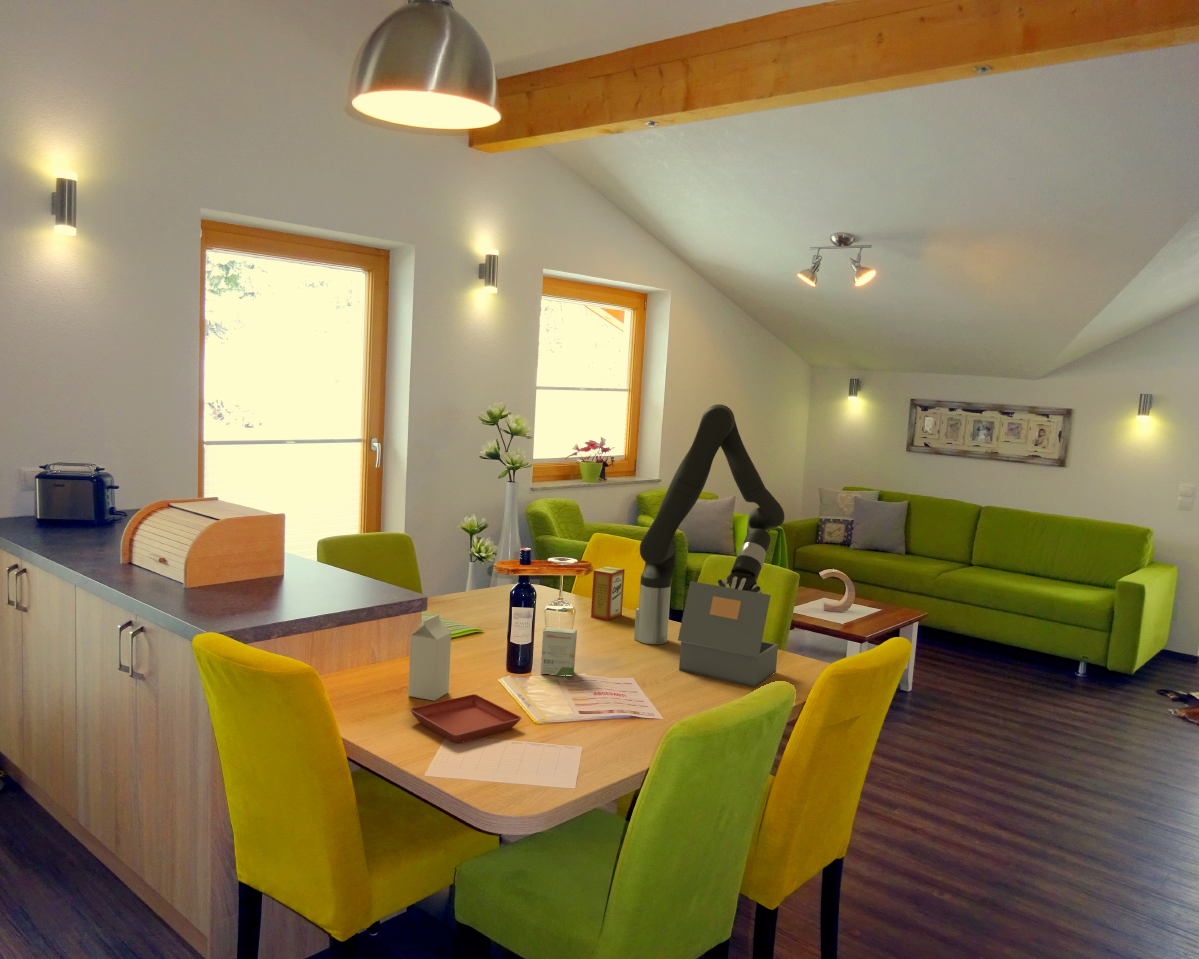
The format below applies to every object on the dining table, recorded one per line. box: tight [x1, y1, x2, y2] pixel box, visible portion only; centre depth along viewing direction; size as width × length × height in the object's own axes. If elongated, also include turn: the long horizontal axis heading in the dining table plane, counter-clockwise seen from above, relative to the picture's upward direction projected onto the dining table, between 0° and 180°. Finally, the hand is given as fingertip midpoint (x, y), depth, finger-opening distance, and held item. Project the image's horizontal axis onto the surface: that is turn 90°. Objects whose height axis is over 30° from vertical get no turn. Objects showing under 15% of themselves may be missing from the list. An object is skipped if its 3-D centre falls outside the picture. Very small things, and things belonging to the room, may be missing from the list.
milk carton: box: [407, 613, 452, 702], centre depth 222 cm, size 7×7×19 cm
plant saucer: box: [409, 693, 522, 744], centre depth 205 cm, size 18×18×3 cm
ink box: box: [540, 626, 578, 676], centre depth 244 cm, size 9×5×12 cm, turn 84°
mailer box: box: [678, 640, 779, 688], centre depth 255 cm, size 22×16×8 cm
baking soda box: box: [590, 565, 625, 621], centre depth 307 cm, size 10×6×16 cm
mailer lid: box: [677, 580, 771, 657], centre depth 248 cm, size 23×16×1 cm
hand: (729, 613), depth 252 cm, fingers closed
